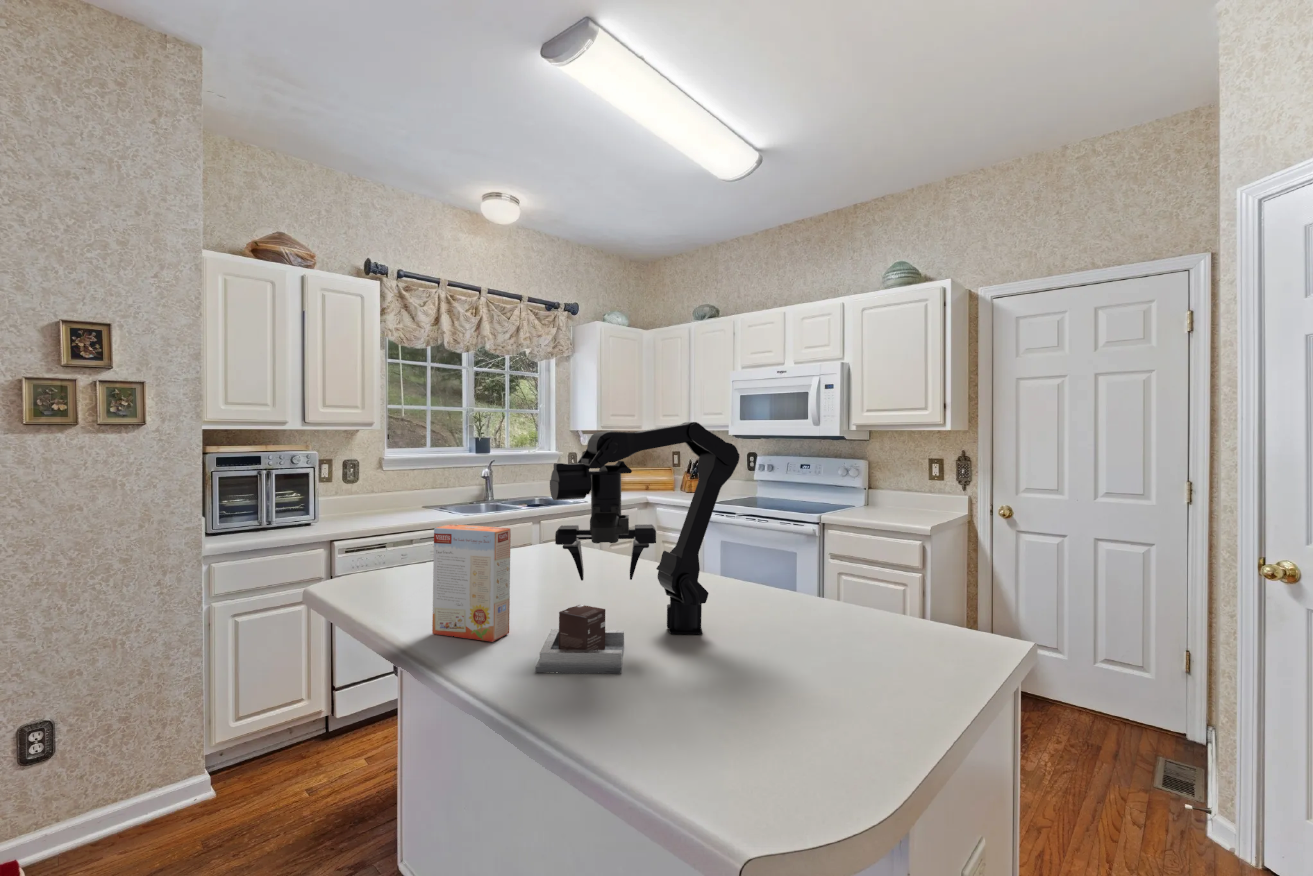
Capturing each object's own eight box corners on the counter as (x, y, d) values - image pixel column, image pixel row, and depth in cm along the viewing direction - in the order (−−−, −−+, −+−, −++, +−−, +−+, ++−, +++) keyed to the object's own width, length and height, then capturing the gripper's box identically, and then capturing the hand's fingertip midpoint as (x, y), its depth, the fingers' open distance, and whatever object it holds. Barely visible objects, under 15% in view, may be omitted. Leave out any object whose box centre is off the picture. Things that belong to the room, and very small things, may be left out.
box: (585, 660, 101) (585, 617, 101) (557, 654, 104) (557, 611, 104) (605, 650, 106) (606, 608, 106) (578, 643, 109) (579, 603, 109)
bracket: (624, 644, 112) (624, 628, 112) (620, 673, 98) (621, 655, 98) (549, 643, 112) (549, 627, 112) (535, 673, 98) (535, 654, 98)
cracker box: (510, 633, 117) (512, 527, 117) (492, 643, 111) (494, 531, 112) (451, 625, 122) (452, 522, 122) (430, 634, 116) (432, 526, 116)
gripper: (551, 503, 105) (551, 591, 105) (657, 502, 106) (657, 590, 106) (558, 496, 116) (559, 576, 117) (654, 495, 117) (654, 575, 117)
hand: (606, 579), depth 114 cm, fingers open, 9 cm apart
